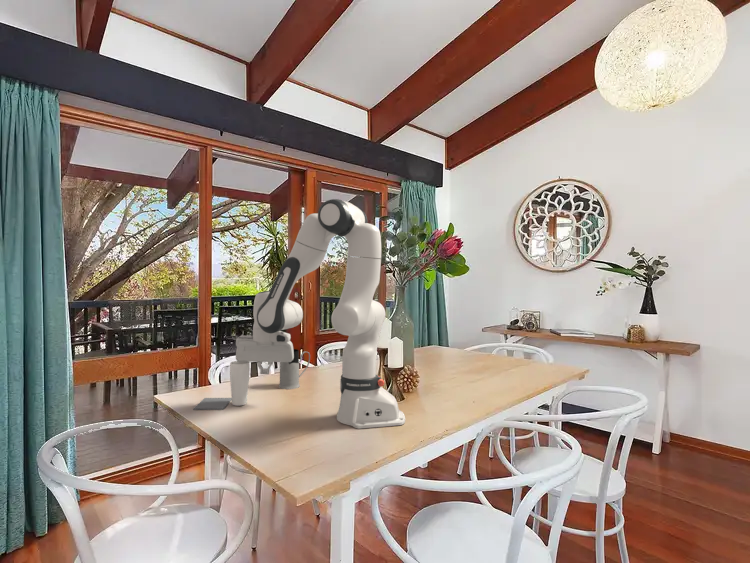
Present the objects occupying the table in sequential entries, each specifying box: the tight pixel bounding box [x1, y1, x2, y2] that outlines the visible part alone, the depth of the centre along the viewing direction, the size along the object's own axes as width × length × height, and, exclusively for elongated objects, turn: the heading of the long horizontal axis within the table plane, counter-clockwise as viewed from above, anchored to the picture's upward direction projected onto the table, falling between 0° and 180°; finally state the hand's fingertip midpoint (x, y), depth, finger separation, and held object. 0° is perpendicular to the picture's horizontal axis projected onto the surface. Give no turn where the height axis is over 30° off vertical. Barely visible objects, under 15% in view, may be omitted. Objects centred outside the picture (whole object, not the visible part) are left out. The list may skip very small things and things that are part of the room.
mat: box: [192, 397, 232, 411], centre depth 151 cm, size 10×12×1 cm
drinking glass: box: [229, 360, 251, 407], centre depth 151 cm, size 7×7×15 cm
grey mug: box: [278, 348, 311, 390], centre depth 177 cm, size 9×14×15 cm, turn 131°
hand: (264, 373), depth 152 cm, fingers closed
